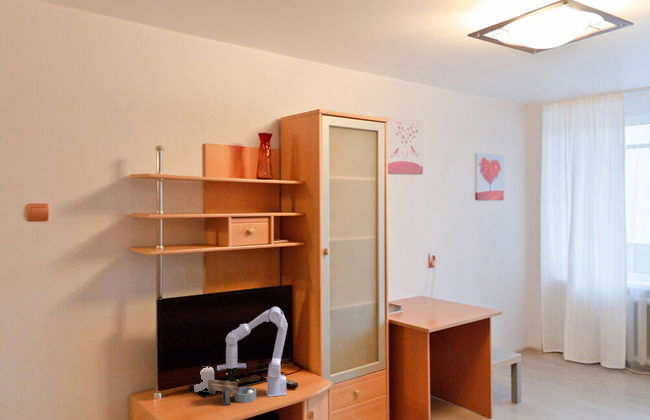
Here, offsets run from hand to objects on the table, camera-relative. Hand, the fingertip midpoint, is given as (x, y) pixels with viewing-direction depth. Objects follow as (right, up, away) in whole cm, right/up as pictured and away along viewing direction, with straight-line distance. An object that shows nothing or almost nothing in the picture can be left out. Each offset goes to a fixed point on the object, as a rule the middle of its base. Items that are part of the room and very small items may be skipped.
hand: (231, 382), depth 260 cm
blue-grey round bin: (+8, -6, -5) cm, 11 cm away
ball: (+10, -4, -4) cm, 12 cm away
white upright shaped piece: (-15, -6, +6) cm, 18 cm away
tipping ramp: (-4, -2, -6) cm, 7 cm away
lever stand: (-1, -6, -8) cm, 10 cm away
